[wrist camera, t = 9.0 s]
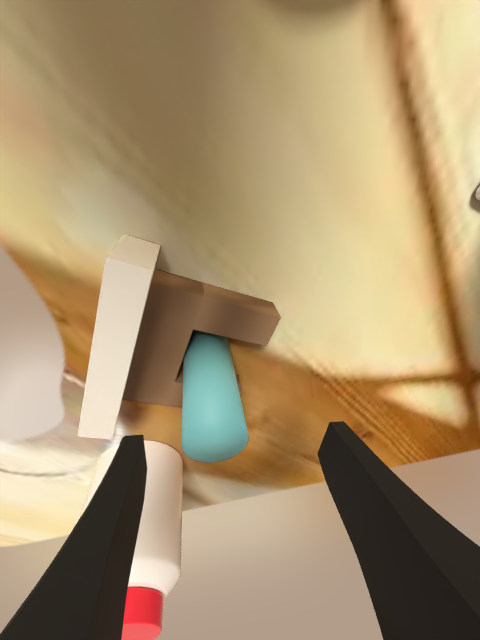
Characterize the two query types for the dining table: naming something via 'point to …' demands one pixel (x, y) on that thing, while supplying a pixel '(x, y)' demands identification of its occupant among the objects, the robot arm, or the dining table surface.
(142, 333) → the block
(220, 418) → the dowel
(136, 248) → the board
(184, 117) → the dining table surface
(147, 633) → the pill bottle
